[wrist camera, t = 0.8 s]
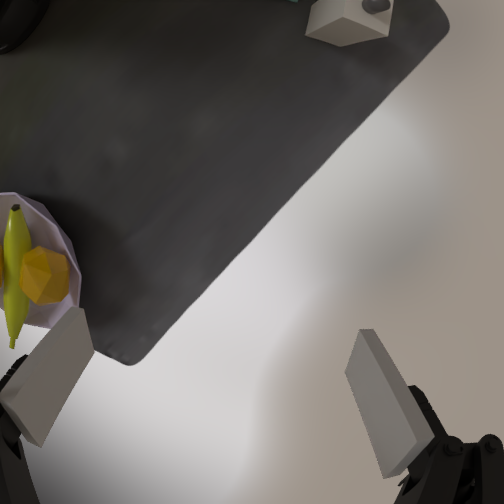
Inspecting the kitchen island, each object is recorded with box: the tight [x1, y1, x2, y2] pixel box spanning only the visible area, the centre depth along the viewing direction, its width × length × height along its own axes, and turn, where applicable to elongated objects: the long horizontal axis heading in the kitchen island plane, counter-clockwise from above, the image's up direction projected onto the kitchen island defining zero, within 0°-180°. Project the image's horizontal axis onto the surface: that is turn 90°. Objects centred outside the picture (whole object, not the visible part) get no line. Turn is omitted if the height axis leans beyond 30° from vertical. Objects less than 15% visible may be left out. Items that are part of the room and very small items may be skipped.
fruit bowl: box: [0, 192, 82, 349], centre depth 34 cm, size 28×27×11 cm
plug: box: [305, 0, 394, 47], centre depth 22 cm, size 5×5×14 cm
